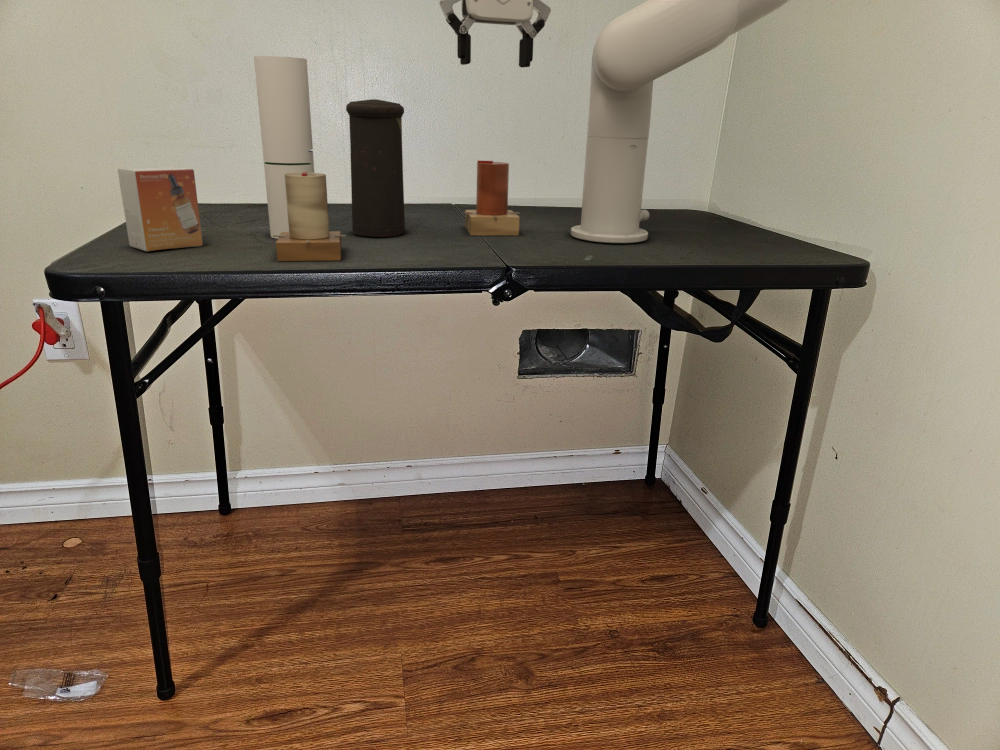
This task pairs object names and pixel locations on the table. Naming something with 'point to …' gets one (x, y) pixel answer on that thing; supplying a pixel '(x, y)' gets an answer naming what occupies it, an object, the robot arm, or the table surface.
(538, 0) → the robot arm
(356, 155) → the container
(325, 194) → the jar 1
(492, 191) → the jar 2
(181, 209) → the small box
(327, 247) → the base
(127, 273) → the table surface
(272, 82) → the cylindrical container
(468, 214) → the base
